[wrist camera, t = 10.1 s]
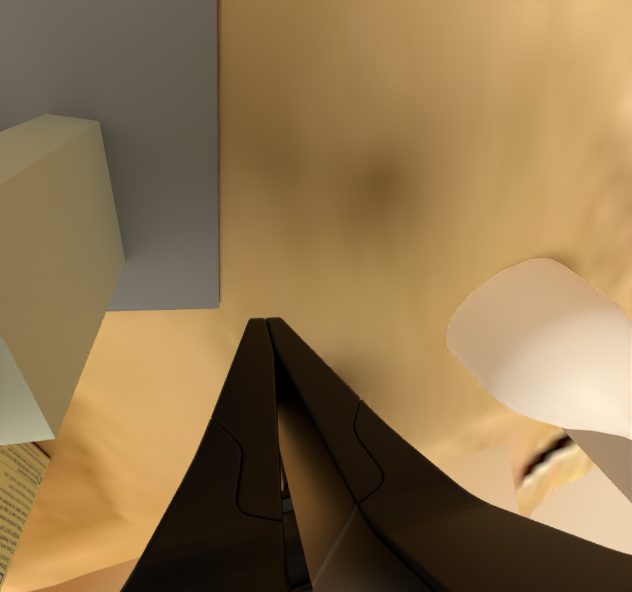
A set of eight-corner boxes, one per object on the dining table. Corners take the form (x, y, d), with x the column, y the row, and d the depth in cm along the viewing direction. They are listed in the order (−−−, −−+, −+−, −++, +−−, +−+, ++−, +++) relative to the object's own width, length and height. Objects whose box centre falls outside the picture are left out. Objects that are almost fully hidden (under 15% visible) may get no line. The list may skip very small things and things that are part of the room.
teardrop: (568, 229, 23) (815, 352, 13) (566, 317, 29) (727, 438, 20) (430, 311, 24) (567, 473, 15) (459, 376, 31) (564, 514, 22)
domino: (99, 120, 12) (-59, 221, 5) (125, 261, 15) (55, 438, 8) (46, 113, 11) (-212, 214, 4) (86, 261, 15) (-24, 448, 8)
